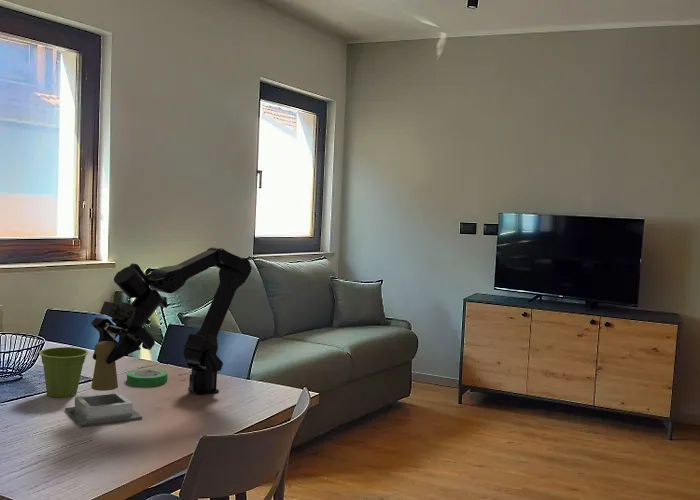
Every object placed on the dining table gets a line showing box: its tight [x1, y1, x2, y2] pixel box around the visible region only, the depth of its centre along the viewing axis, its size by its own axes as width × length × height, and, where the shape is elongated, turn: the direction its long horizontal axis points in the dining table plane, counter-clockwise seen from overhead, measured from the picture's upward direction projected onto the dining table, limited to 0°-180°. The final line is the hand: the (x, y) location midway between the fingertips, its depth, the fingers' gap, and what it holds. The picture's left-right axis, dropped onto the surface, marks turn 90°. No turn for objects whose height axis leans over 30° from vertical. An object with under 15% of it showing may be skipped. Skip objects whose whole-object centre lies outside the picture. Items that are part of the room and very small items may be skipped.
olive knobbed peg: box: [91, 341, 119, 392], centre depth 166 cm, size 6×6×11 cm
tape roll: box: [126, 368, 168, 387], centre depth 198 cm, size 11×11×3 cm
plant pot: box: [38, 346, 89, 399], centre depth 181 cm, size 12×12×11 cm
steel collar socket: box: [64, 391, 143, 428], centre depth 166 cm, size 14×14×4 cm
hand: (100, 360), depth 165 cm, fingers closed on olive knobbed peg, 5 cm apart
